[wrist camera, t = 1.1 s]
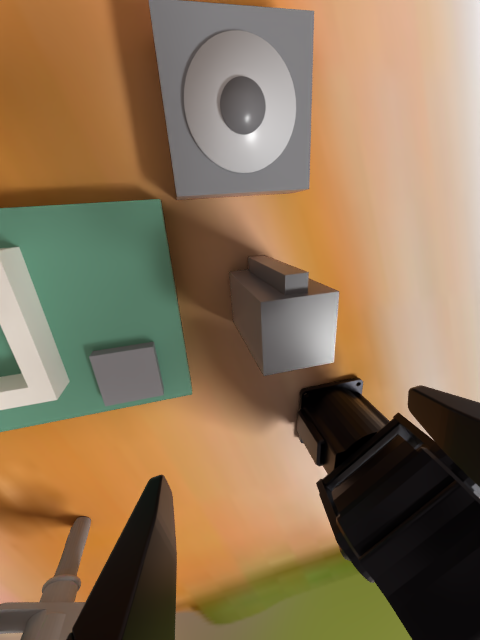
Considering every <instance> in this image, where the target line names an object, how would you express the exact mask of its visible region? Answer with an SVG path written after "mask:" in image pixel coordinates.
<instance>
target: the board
mask: <svg viewBox="0 0 480 640" xmlns="http://www.w3.org/2000/svg"><path fill="white" fill-rule="evenodd" d="M186 395H192V384H191V378H190V372H189V366H188V360H187V354H186V348H185V342H184V336H183V330H182V324H181V318H180V312H179V306H178V300H177V294H176V287H175V281H174V275H173V269H172V263H171V257H170V251H169V245H168V239H167V233H166V227H165V221H164V215H163V209H162V203H161V200H160V199H152V200H135V201H118V202H100V203H83V204H66V205H49V206H32V207H14V208H0V432H3V431H8V430H13V429H18V428H23V427H28V426H33V425H39V424H44V423H49V422H54V421H59V420H64V419H69V418H74V417H79V416H84V415H90V414H95V413H100V412H105V411H110V410H115V409H120V408H125V407H130V406H135V405H141V404H146V403H151V402H156V401H161V400H166V399H171V398H176V397H181V396H186Z"/></svg>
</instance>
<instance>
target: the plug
mask: <svg viewBox="0 0 480 640" xmlns="http://www.w3.org/2000/svg"><path fill="white" fill-rule="evenodd" d="M248 265H249V269H247V270H239V271H230V272H229V279H230V291H231V302H232V314H233V322H234V324H235V326H236V327H237V329H238V331H239V333H240V335H241V336H242V338H243V340H244V342H245V344H246V345H247V347H248V349H249V351H250V352H251V354H252V356H253V358H254V360H255V361H256V363H257V365H258V367H259V369H260V370H261V372H262V374H263V376H266V375H271V374H276V373H282V372H287V371H292V370H297V369H302V368H308V367H313V366H318V365H323V364H328V363H334V354H335V341H336V327H337V314H338V301H339V291H337V290H335V289H332V288H330V287H328V286H325V285H323V284H321V283H318V282H316V281H314V280H312V279H309V278H308V273H309V272H306V271H304V270H301V269H298V268H296V267H293V266H291V265H288V264H286V263H283V262H280V261H278V260H275V259H273V258H270V257H267V256H265V255H261V256H251V257H248Z"/></svg>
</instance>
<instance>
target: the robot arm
mask: <svg viewBox="0 0 480 640" xmlns="http://www.w3.org/2000/svg"><path fill="white" fill-rule="evenodd" d="M362 387H363V381H362V380H361V379H360V378H352V379H347V380H343V381H338V382H333V383H328V384H323V385H319V386H314V387H309V388H304V389H302V390H301V391H300V401H299V411H298V413H297V432H298V434H299V440H300V442H301V443H304V444H305V446H306V448H307V450H308V451H309V453H310V455H311V457H312V458H313V460H314V462H315V464H316V465H318V466H322V465H323V467H324V469H325V470H326V472H327V474H328V475H327V476H326V477H325V478H323V479H320V480H319V481H318V482H317V483H316V484H317V487H318V490H319V492H320V493H319V495H320V497H321V500H322V503H323V506H324V508H325V511H326V514H327V517H328V519H329V522H330V525H331V527H332V530H333V533H334V536H335V538H336V541H337V543H338V545H339V548H340V552H341V554H342V555H343V557H344V558H345V559H347V560H349V561H351V562H352V563H353V565H354V566H355V567H356V569H357V570H358V571H359V572H360V573H361V574H362V575H363V576H364V577H365V578H366V579H367V580H368V581H370V582H373V583H374V582H375V583H376V584H377V586H378V587H379V589H380V590H381V591H382V593H383V594H384V596H385V597H386V599H387V600H388V602H389V603H390V605H391V606H392V608H393V609H394V611H395V612H396V614H397V616H398V617H399V619H400V620H401V622H402V623H403V625H404V627H405V628H406V630H407V632H408V633H409V635H410V636H411V638H412V640H480V403H479V402H476V401H472V400H469V399H466V398H462V397H459V396H455V395H452V394H449V393H445V392H442V391H439V390H435V389H432V388H429V387H425V386H421V385H420V386H416V387H413V388H411V389H410V390H409V393H408V408H409V411H410V412H411V414H412V415H413V416H414V417H415V418H416V420H417V421H418V422H419V423H420V424H421V425H422V427H423V428H424V429H425V430H426V431H427V433H428V434H429V435H430V436H431V437H432V438H433V440H432V439H431V438H430V437H429V436H427V435H426V434H425V433H424V432H422V431H421V430H420V429H418V428H417V427H416V426H415V425H413V424H412V423H411V422H410V421H408V420H407V419H406V418H405V417H403V416H402V415H401V414H400V413H397V414H396V415H395V416H394V417H393V419H392V420H391V421H389V420H388V419H387V418H386V417H385V416H384V415H382V414H381V413H380V412H379V411H378V410H377V409H376V408H375V407H374V406H373V405H372V404H371V403H370V402H369V401H368V400H367V399H365V398H364V397H363V396H362ZM306 393H307V394H306ZM304 394H306V395H304ZM176 568H177V552H176V536H175V522H174V508H173V496H172V492H171V489H170V487H169V485H168V483H167V481H166V478H165V477H164V475H159V476H156V477H153V478H151V479H150V480H149V481H148V483H147V485H146V487H145V489H144V491H143V493H142V495H141V497H140V499H139V501H138V502H137V504H136V506H135V508H134V510H133V512H132V514H131V516H130V518H129V520H128V522H127V524H126V526H125V527H124V529H123V531H122V533H121V535H120V537H119V539H118V541H117V543H116V545H115V547H114V549H113V550H112V552H111V554H110V556H109V558H108V560H107V562H106V564H105V566H104V568H103V570H102V572H101V574H100V575H99V577H98V579H97V581H96V583H95V585H94V587H93V589H92V591H91V593H90V595H89V597H88V599H87V600H86V602H85V604H84V606H83V608H82V610H81V612H80V614H79V616H78V618H77V620H76V622H75V623H74V625H73V627H72V632H70V633H69V635H68V637H67V639H66V640H175V609H176Z"/></svg>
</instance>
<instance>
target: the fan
mask: <svg viewBox="0 0 480 640" xmlns="http://www.w3.org/2000/svg"><path fill="white" fill-rule="evenodd" d="M149 7H150V15H151V23H152V30H153V38H154V45H155V52H156V59H157V65H158V72H159V79H160V86H161V93H162V100H163V107H164V114H165V121H166V127H167V134H168V141H169V148H170V155H171V162H172V169H173V176H174V183H175V190H176V196H177V200H185V199H202V198H218V197H235V196H252V195H269V194H286V193H295V192H299V191H303V190H307V189H309V177H310V140H311V104H312V67H313V30H314V11H308V10H296V9H283V8H270V7H258V6H245V5H232V4H219V3H207V2H194V1H181V0H149Z"/></svg>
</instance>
